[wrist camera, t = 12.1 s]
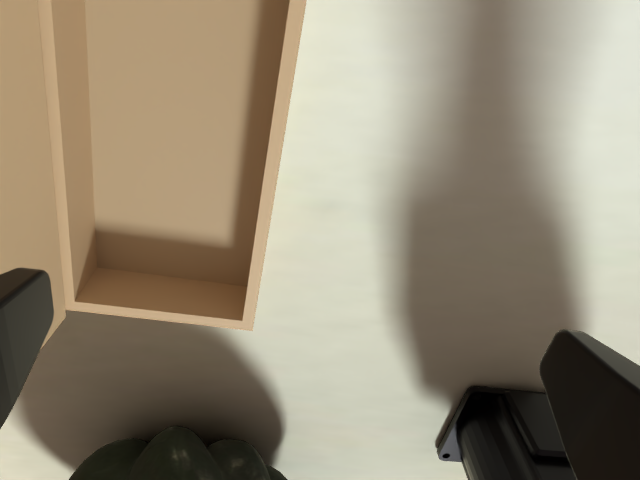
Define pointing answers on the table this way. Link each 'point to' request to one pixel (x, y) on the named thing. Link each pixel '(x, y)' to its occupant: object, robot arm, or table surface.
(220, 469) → the squash
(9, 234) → the lid
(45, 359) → the table surface
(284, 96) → the cardboard box
